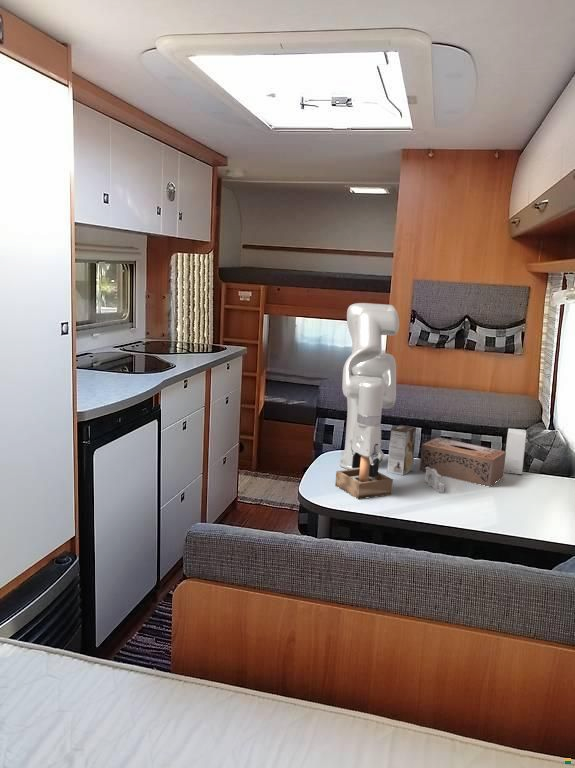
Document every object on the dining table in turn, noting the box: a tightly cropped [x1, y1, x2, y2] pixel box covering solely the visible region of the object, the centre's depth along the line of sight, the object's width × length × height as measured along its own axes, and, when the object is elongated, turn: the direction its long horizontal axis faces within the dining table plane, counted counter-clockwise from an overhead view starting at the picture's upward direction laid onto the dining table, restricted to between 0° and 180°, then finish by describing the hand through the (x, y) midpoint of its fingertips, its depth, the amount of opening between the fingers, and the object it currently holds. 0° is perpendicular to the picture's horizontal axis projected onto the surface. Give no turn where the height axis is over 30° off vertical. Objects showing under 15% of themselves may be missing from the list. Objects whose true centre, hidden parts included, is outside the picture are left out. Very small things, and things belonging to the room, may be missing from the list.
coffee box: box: [387, 424, 417, 476], centre depth 220 cm, size 9×6×16 cm
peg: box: [359, 455, 370, 482], centre depth 197 cm, size 3×3×12 cm
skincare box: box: [504, 428, 527, 475], centre depth 228 cm, size 8×7×16 cm
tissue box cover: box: [419, 436, 506, 488], centre depth 221 cm, size 26×14×10 cm, turn 54°
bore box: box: [334, 468, 394, 500], centre depth 198 cm, size 13×13×5 cm
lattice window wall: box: [424, 467, 446, 494], centre depth 205 cm, size 12×2×6 cm, turn 13°
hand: (364, 471), depth 198 cm, fingers open, 8 cm apart
